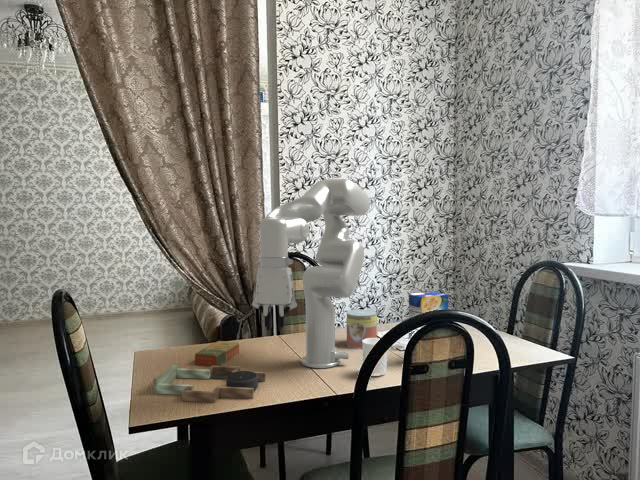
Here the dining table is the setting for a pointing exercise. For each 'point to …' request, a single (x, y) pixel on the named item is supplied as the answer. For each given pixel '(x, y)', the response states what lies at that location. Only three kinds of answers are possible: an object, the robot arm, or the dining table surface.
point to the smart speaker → (242, 379)
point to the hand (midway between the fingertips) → (274, 329)
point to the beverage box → (426, 303)
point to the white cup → (367, 346)
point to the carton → (216, 353)
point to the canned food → (360, 326)
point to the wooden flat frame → (214, 372)
